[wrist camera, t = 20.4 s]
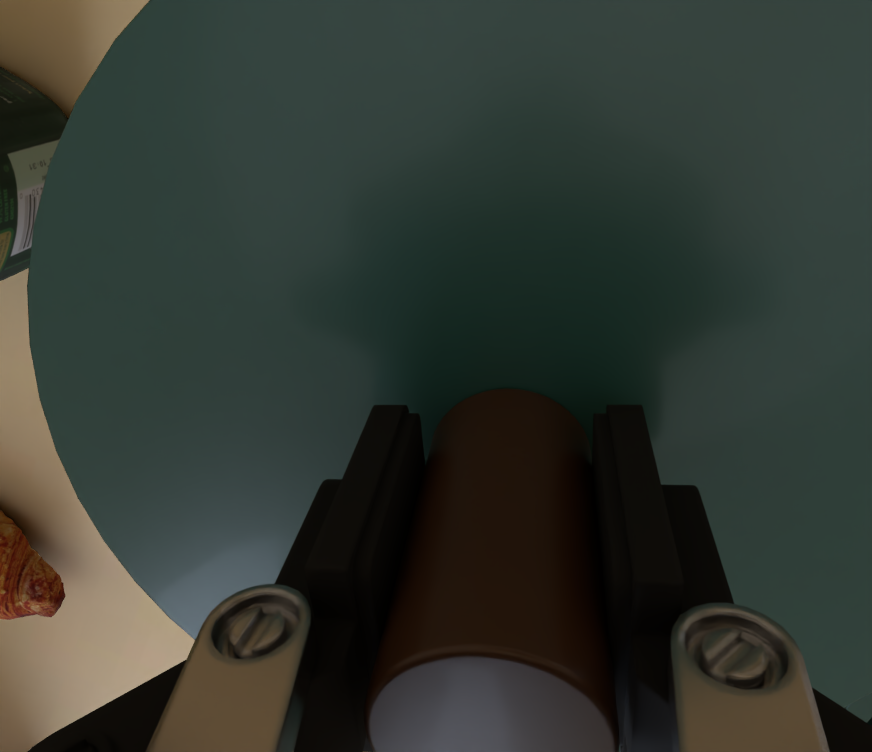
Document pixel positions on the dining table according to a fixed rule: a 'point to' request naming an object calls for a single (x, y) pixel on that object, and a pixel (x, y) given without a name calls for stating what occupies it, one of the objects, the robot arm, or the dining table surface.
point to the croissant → (25, 577)
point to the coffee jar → (23, 165)
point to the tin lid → (473, 317)
